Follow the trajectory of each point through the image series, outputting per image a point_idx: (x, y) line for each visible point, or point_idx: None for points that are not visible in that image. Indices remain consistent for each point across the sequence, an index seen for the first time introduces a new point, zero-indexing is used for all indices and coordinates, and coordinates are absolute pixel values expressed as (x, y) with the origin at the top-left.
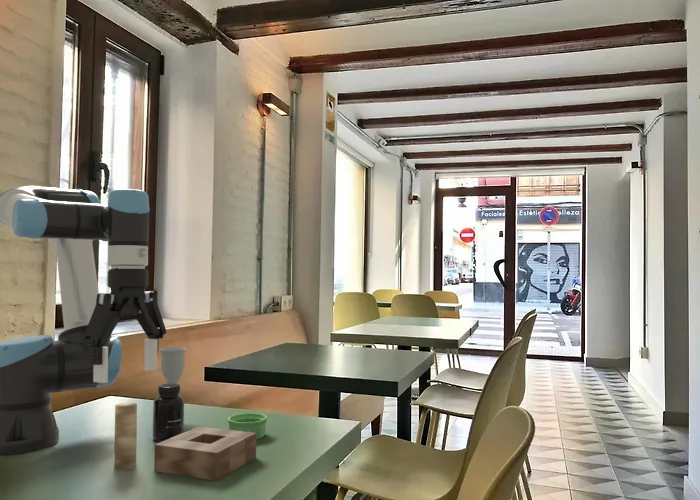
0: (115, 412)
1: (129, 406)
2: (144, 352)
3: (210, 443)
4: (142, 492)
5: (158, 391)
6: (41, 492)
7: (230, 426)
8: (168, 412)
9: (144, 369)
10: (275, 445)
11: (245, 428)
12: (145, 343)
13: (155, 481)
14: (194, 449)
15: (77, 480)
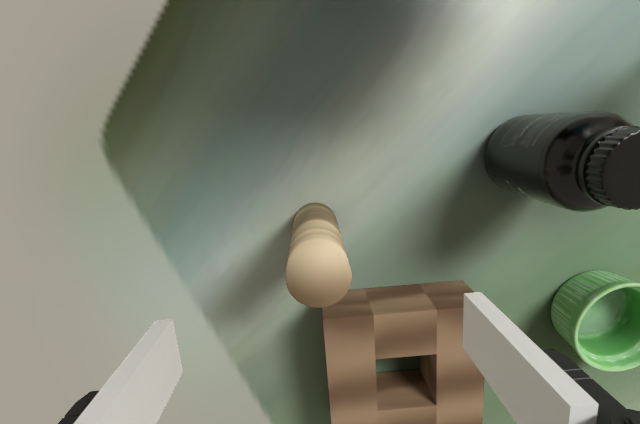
0: (289, 257)
1: (305, 304)
2: (510, 344)
3: (429, 356)
4: (233, 347)
5: (599, 143)
6: (139, 195)
7: (577, 301)
8: (534, 191)
9: (466, 296)
10: None
11: (569, 341)
12: (546, 390)
13: (281, 330)
14: (332, 408)
15: (214, 202)
